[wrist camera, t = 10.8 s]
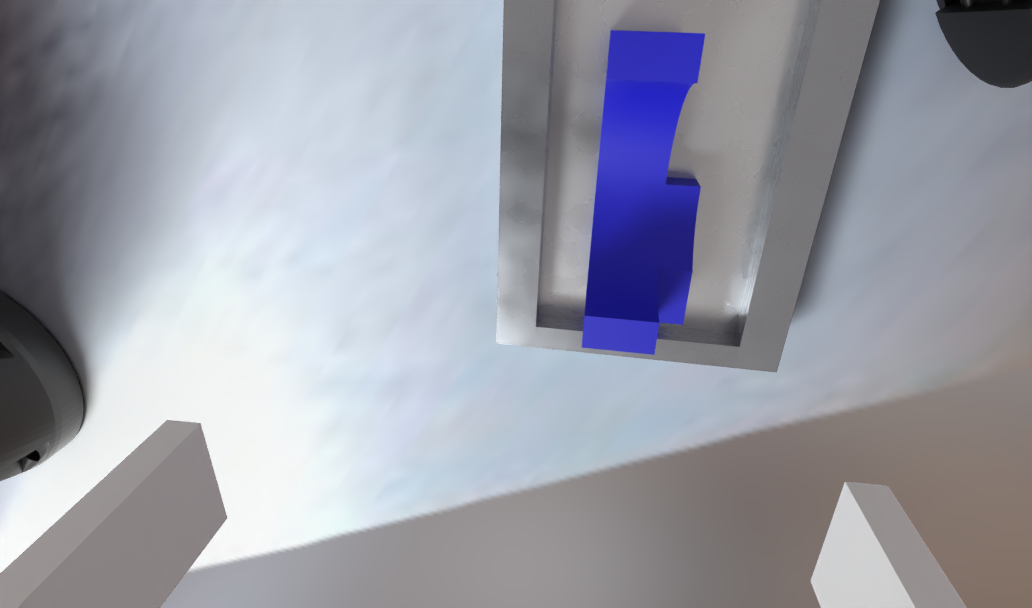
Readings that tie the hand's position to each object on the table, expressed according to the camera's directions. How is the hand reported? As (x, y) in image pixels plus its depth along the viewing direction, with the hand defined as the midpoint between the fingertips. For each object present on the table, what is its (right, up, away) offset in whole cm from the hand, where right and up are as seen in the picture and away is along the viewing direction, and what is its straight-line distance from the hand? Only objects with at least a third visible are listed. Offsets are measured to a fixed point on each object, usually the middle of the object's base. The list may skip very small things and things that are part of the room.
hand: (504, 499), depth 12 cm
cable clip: (+6, +10, +15) cm, 19 cm away
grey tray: (+7, +11, +16) cm, 20 cm away
